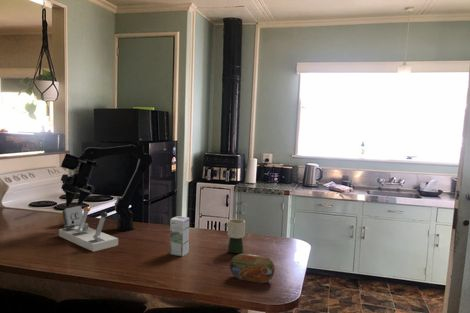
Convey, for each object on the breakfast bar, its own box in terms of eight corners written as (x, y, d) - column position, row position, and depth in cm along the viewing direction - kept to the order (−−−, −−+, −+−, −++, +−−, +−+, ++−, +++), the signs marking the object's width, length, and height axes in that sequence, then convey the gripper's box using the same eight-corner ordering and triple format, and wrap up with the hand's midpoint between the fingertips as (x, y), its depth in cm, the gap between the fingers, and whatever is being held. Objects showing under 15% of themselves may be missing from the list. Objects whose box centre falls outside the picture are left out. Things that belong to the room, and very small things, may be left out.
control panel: (82, 231, 166) (82, 224, 166) (118, 245, 147) (118, 237, 147) (59, 236, 158) (59, 229, 157) (93, 251, 139) (93, 243, 138)
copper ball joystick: (80, 232, 153) (88, 206, 156) (83, 233, 151) (92, 207, 154) (74, 231, 151) (83, 205, 154) (77, 232, 149) (86, 206, 152)
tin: (229, 277, 118) (229, 253, 117) (232, 274, 121) (233, 250, 120) (272, 285, 112) (273, 260, 112) (275, 281, 115) (276, 256, 115)
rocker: (70, 226, 160) (70, 223, 160) (74, 227, 157) (74, 224, 157) (63, 227, 158) (63, 225, 158) (68, 228, 155) (67, 225, 155)
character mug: (233, 247, 149) (234, 217, 148) (248, 249, 146) (249, 219, 146) (221, 254, 139) (222, 222, 139) (238, 257, 136) (239, 225, 136)
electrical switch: (68, 227, 171) (67, 209, 171) (61, 227, 174) (60, 208, 174) (84, 223, 180) (83, 205, 179) (77, 223, 182) (76, 205, 182)
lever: (96, 239, 144) (105, 211, 147) (100, 240, 143) (109, 212, 145) (91, 238, 142) (100, 210, 145) (94, 239, 141) (104, 211, 143)
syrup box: (189, 252, 141) (189, 217, 140) (182, 257, 136) (183, 220, 135) (176, 250, 143) (177, 215, 142) (169, 255, 137) (169, 218, 136)
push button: (85, 226, 161) (85, 222, 161) (89, 228, 158) (89, 224, 158) (78, 228, 158) (78, 224, 158) (82, 230, 156) (82, 225, 155)
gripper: (79, 169, 173) (69, 199, 172) (56, 167, 154) (44, 201, 153) (99, 176, 171) (89, 206, 170) (78, 174, 153) (67, 208, 152)
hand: (73, 205), depth 162 cm, fingers open, 9 cm apart
